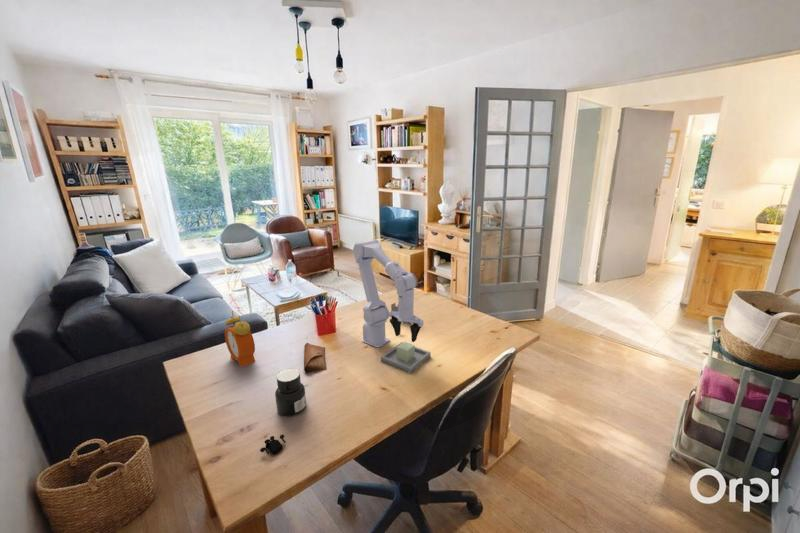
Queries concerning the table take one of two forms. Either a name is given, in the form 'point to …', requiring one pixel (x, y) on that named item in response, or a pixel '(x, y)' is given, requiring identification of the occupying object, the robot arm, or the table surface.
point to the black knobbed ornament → (273, 445)
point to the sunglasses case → (314, 358)
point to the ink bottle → (290, 393)
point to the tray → (402, 365)
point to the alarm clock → (240, 341)
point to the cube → (405, 351)
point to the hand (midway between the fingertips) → (405, 337)
